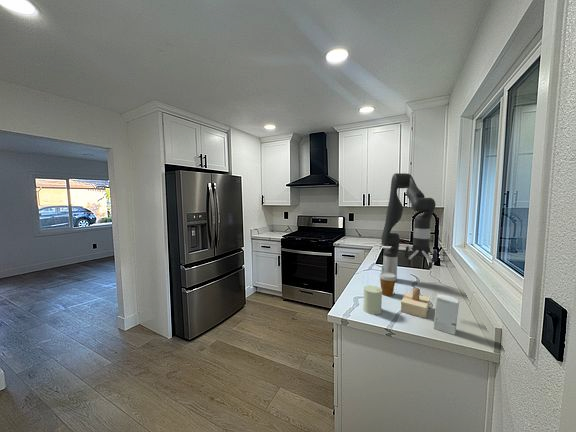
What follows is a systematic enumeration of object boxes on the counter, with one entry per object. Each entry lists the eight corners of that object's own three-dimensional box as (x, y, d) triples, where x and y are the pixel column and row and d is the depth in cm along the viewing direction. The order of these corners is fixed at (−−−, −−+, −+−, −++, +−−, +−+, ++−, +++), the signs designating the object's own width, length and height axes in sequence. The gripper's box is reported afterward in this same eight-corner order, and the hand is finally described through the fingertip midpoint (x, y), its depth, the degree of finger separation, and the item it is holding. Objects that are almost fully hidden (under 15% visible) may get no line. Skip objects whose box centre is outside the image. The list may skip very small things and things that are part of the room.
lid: (400, 303, 122) (401, 291, 122) (406, 293, 134) (407, 282, 133) (426, 309, 115) (426, 296, 115) (429, 299, 127) (430, 287, 126)
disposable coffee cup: (394, 291, 147) (395, 273, 146) (396, 298, 138) (397, 278, 137) (378, 289, 150) (379, 271, 149) (378, 296, 141) (379, 276, 140)
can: (379, 316, 118) (380, 293, 117) (360, 311, 123) (361, 289, 122) (383, 308, 126) (384, 286, 125) (365, 304, 131) (366, 283, 130)
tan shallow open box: (400, 311, 123) (401, 303, 122) (406, 301, 134) (406, 293, 133) (425, 318, 116) (425, 309, 116) (428, 307, 127) (429, 299, 127)
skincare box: (433, 328, 107) (435, 297, 106) (435, 323, 112) (437, 292, 111) (455, 335, 102) (458, 302, 101) (457, 329, 107) (459, 297, 105)
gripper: (404, 236, 123) (403, 267, 124) (437, 239, 114) (435, 272, 116) (407, 234, 129) (406, 263, 130) (438, 237, 120) (436, 268, 122)
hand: (419, 267), depth 123 cm, fingers open, 8 cm apart
